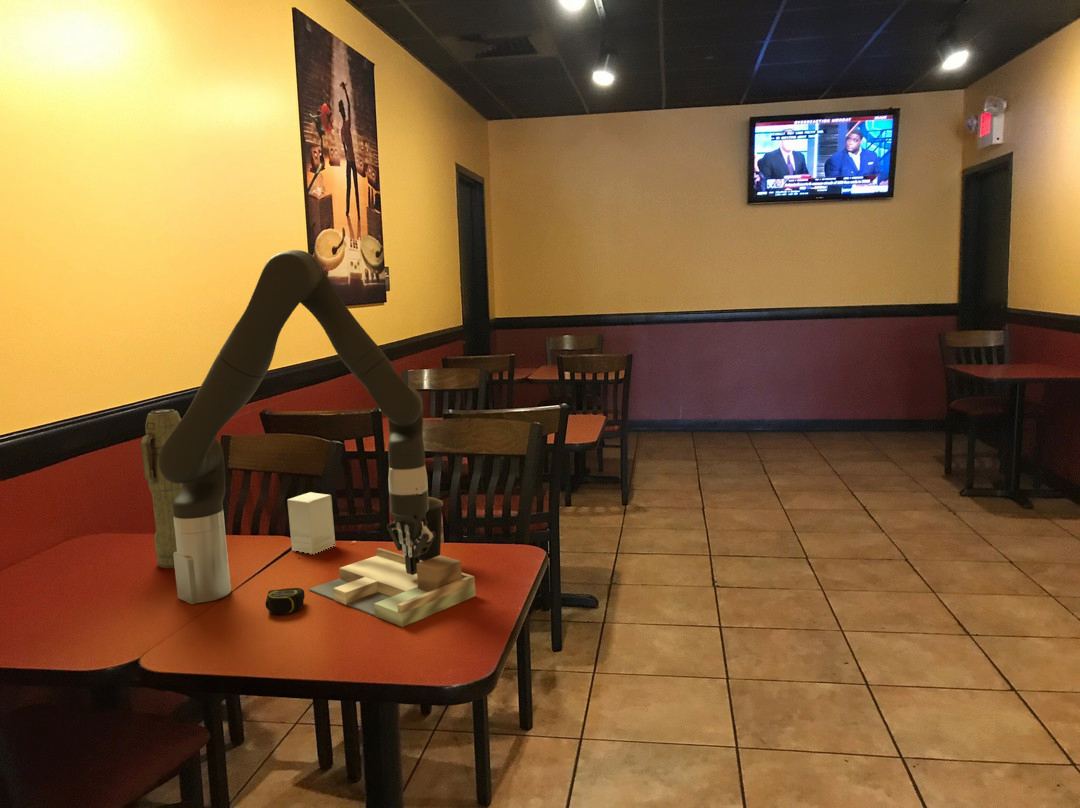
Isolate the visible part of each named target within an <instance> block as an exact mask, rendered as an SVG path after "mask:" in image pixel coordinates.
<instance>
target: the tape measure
mask: <svg viewBox="0 0 1080 808" xmlns="http://www.w3.org/2000/svg"><path fill="white" fill-rule="evenodd" d="M305 597H306V596H305V590H304V589H303V588H300V587H290V588H289V587H288V588H280V589H271V590H268V592H267V595H266V598H265V599H266V600H265V608H266V609H267V610H268V612H269V613H271V614H275V615H279V614H280V615H282V614H283V615H284V614H291V613H293V612H296V611H298V610H300V609H301V608H302V607H303V606H304V603H305V602H304V600H305Z"/></svg>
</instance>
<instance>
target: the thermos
mask: <svg viewBox="0 0 1080 808" xmlns="http://www.w3.org/2000/svg"><path fill="white" fill-rule="evenodd" d="M181 419H182V418H181V416H180V413H179V412H178V411H177V410H174V409H172V408H166V409H165V408H164V409H163V408H162V409H156V410H152V411H150V412H149V413H148V414H147V416H146V419H145V420H146V421H145V425H144V427H145V435H144V436H142V439H141V442H140V448H141V456H142V457H141V458H142V465H143V466H142V467H143V475H144V479H145V481H147V482H148V484H147V485H148V489H149V491H150V493H151V496H152V506H153V514H154V523H155V525H154V526H155V534H154V536H153V537H154V538H153V539H154V547H155V556H157V566H158V567H159V568H162V569H163V568H164V569H175V566H174V557H173V553H174V552H177V546H176V536H175V527H174V517H173V509H172V504H173V501H174V500H175V498H176V497H177V496H178V494H179V493H180V490H181V488H182V483H173V482H170V481H168V480H167V479H166V478H165V477H164V476H163V475H162V473H161V471H160V469H159V462H158V460H159V453H160V450H161V448H162V446H163V444H164V443H165V441H166V440H167V439H168V437H169V436H170V435H171V433H172V432H173V431H174V429H175V428H176V426H177V425H178V424H179V422H180V421H181Z"/></svg>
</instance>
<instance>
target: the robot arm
mask: <svg viewBox="0 0 1080 808" xmlns="http://www.w3.org/2000/svg"><path fill="white" fill-rule="evenodd" d="M315 257H316V256H313V255H312V254H311V253H309V252H307V251H305V250H299V249H293V250H286V251H282V252H279V253H276V254H274V255H273V256H271V258H269V260H268V261H267V262H266V263H265V265H264V267H263V269H262V271H261V273H260V276H259V278H258V279H257V283H256V285H255V288H254V290H253V293H252V294H251V297H250V300H249V301H248V304H247V306H246V308H245V310H244V311H243V314H242V315H241V317H240V318H239V320H238V321H237V322H236V324H235V326H233V328H232V331H231V332H230V334H229V336H228V337H227V339H226V340H225V342H224V344H223V345H222V347H221V348H220V350H219V352H218V353H217V356H215V357H216V358H215V359H214V361H213V362H212V364H211V367H210V368H209V370H208V373H207V375H206V376H205V378H204V380H203V381H202V383H201V384H200V385H201V386H199V389H198V391H197V392H196V393H195V396H194V398H193V399H192V402H191V404H190V405H189V407H188V409H187V411H186V412H185V414H184V415H183V416H182V418H181V421H180V422H179V424H178V425H177V426H176V428H175V429H174V431H173V432H172V433H171V435H170V436H169V437H168V439H167V440H166V441H165V443H164V444H163V446H162V448H161V450H160V453H159V460H158V462H159V469H160V471H161V473H162V475H163V476H164V477H165V478H166V479H167V480H168V481H170V482H173V483H182V488H181V490H180V493H179V494H178V496H177V497H176V498H175V500H174V501H173V504H172V509H173V517H174V527H175V536H176V546H177V552H174V553H173V557H174V566H175V568H174V572H175V584H176V591H177V598H178V599H179V600H181V601H183V602H185V603H186V604H187V603H188V604H189V605H195V604H200V603H201V604H202V603H207V602H212V601H217V600H219V599H222V598H225V597H226V596H228V595H230V593H231V592H232V586H231V583H232V582H231V574H230V568H229V556H228V546H227V537H226V536H227V535H226V525H225V515H224V505H223V502H224V499H225V495H226V474H225V473H226V470H225V457H224V451H223V447H222V445H221V443H220V441H219V439H218V438H217V436H218V435H219V433H220V431H221V430H222V429H223V428H224V427H225V426H226V424H227V423H229V421H231V419H232V418H233V417H234V416H235V415H236V414H237V413H239V412H240V410H241V409H243V407H244V406H245V405H246V404H247V403H248V402H249V401H250V400H251V399H252V397H253V396H254V394H255V393H256V391H257V390H258V389H259V386H260V384H261V383H262V381H263V380H264V378H265V376H266V374H267V373H268V371H269V369H270V366H271V364H272V361H273V357H274V355H275V351H276V346H277V343H278V340H279V337H280V333H281V331H282V330H283V328H284V326H285V324H286V323H287V321H288V320H289V318H290V317H291V315H292V314H293V312H294V311H295V309H296V308H297V307H298V306H299V304H301V305H302V307H303V306H304V308H306V309H307V310H308V311H309V312H310V313H311V315H313V317H314V318H315V319H316V320H317V322H318V323H319V325H320V326H321V327H322V329H323V331H324V332H325V334H326V336H327V337H328V340H329V341H330V343H331V345H332V348H334V349H333V350H334V351H335V352H336V354H337V355H338V357H339V359H340V360H341V361H342V362H343V364H344V365H345V366H346V367H347V369H348V370H349V371H350V372H351V373H352V375H353V376H354V377H355V378H356V379H357V380H358V381H359V383H361V385H362V386H364V388H365V389H366V390H367V392H368V394H369V395H370V397H371V398H372V399H373V402H375V404H376V405H377V407H378V408H379V410H380V412H382V414H383V415H384V416H385V417H386V419H388V420H387V421H388V430H389V439H388V443H387V444H388V445H387V454H388V455H387V456H388V457H387V459H388V479H387V481H388V494H389V512H390V513H391V514H392V515H394V516H393V521H392V522H390V523H387V524H386V529H387V531H388V532H389V535H390V537H391V539H392V541H393V543H394V545H395V547H396V549H397V551H399V552H400V551H401V552H402V555H404V556H405V564H406V565H405V567H406V572H407V573H408V574H411V575H414V574H417V565H416V564H417V563H420V555H421V554H424V553H427V551H428V549H429V547H430V546H431V544H432V542H433V540H434V538H435V537H436V533H435V532H434V531H432V532H430V531H429V529H428V528H427V521H426V518H425V514H426V512H427V511H428V509H429V501H428V497H429V487H428V485H429V484H428V483H429V482H428V474H427V473H428V472H427V469H426V454H425V452H426V451H425V443H424V439H423V432H424V428H423V427H424V424H423V423H424V405H423V398H422V395H421V393H420V391H419V390H417V389H416V388H415V387H412V386H410V385H407V383H406V382H405V381H404V380H403V378H401V376H400V375H399V374H398V373H397V372H396V370H395V367H394V365H393V363H392V361H391V360H390V359H389V358H388V357H387V355H386V354H385V352H384V351H383V350H382V349H381V348H380V347H379V345H378V344H377V342H376V341H375V340H374V339H372V338H371V336H370V335H369V334H368V333H367V331H366V330H365V329H364V328H363V327H362V326H361V324H360V323H359V321H358V320H357V319H356V318H355V317H354V315H353V314H352V312H351V311H350V310H349V309H348V307H347V306H346V304H345V303H344V301H343V300H342V298H341V296H340V295H339V294H338V292H337V291H336V289H335V287H334V286H333V284H332V282H331V281H330V279H329V277H328V276H327V274H326V273H325V271H324V268H323V267H322V266H321V264H320V263H319V262H318V260H317V258H315ZM415 545H416V546H415Z"/></svg>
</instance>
